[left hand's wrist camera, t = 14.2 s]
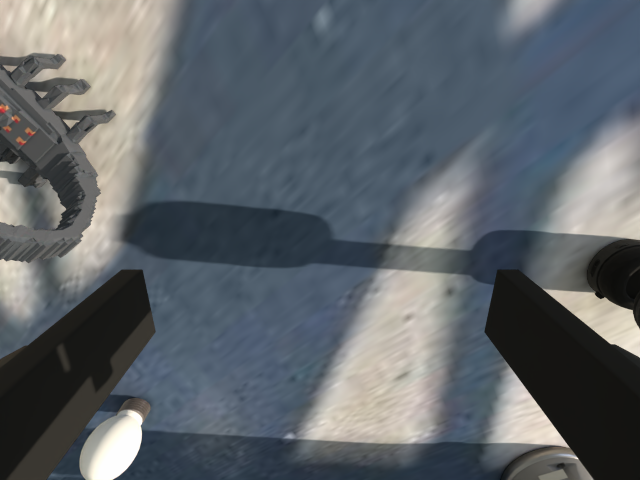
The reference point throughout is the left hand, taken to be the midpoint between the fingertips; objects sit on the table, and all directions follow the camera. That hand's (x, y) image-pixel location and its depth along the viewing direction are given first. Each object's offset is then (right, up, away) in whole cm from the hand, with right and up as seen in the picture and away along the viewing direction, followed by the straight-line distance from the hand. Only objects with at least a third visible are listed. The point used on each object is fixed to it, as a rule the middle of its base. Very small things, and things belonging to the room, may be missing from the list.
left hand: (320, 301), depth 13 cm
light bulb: (-28, -24, +40) cm, 54 cm away
